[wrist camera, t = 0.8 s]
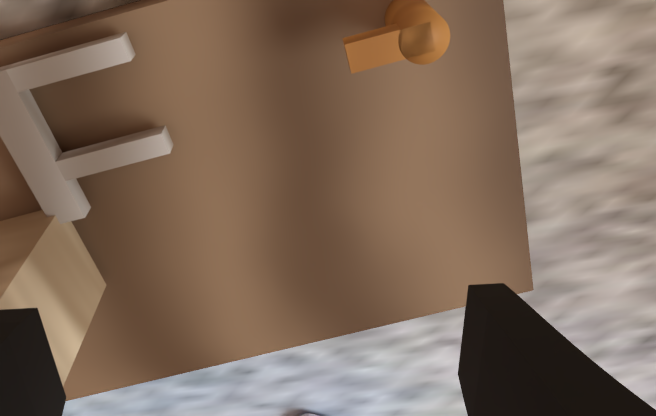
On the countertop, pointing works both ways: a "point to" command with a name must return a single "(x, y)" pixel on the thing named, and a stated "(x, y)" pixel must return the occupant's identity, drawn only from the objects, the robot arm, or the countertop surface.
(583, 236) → the countertop surface
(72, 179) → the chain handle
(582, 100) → the countertop surface
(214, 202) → the keeper board
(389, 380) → the countertop surface
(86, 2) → the countertop surface
